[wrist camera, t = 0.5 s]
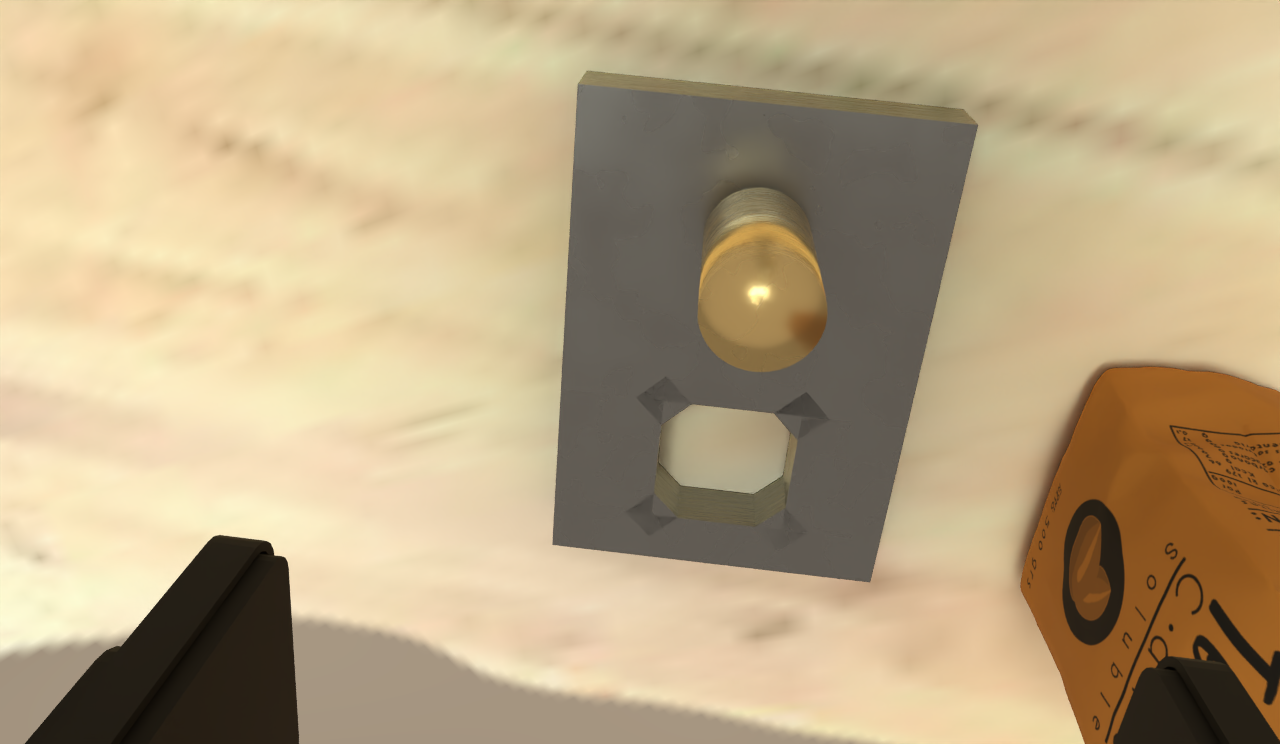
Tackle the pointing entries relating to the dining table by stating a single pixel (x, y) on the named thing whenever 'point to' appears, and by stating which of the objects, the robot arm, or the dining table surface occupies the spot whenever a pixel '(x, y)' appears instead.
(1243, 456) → the coffee package
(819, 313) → the brass cylinder peg
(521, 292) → the dining table surface
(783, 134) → the jig
